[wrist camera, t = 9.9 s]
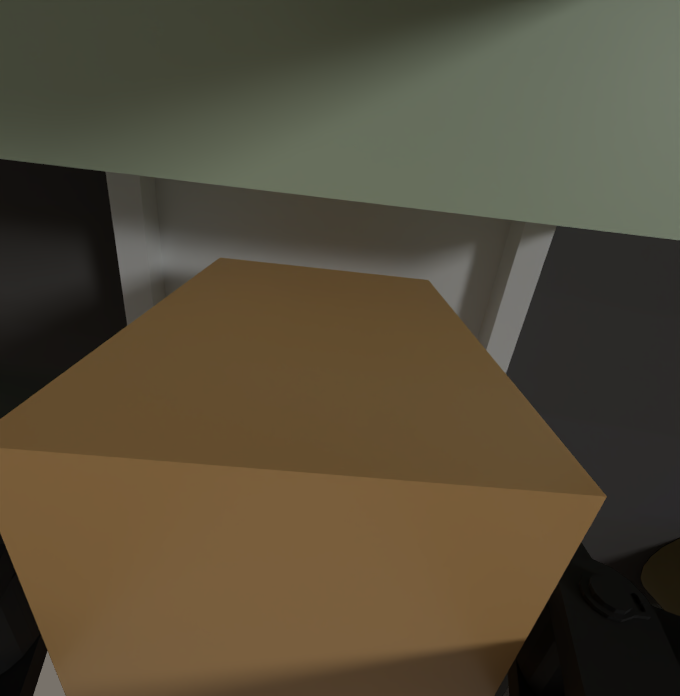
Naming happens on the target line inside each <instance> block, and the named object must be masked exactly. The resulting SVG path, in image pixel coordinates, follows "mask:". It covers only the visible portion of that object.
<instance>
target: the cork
mask: <svg viewBox="0 0 680 696" xmlns="http://www.w3.org/2000/svg"><path fill="white" fill-rule="evenodd" d="M640 578H641V581H642V584H643V587H644V588H645V589H646V590H647V591H648V592H649V593H650V595H651V596H652V597H653V598H654V599H655V600H656V601H657V602H658V603H659V605H660V606H661V607H662V608H663V609H664V610H665V611H667V612H670V613H673V614H675V615H678V616H680V538H679V539H677V540H675V541H673V542H672V543H670V544H668V545H666V546H664V547H662V548H661V549H660V550H659V551H657V552H656V553H655V554H654V555H652V556H651V557H650V558H649V560H648V561H647V562H646V564H645V565H644V567H643V569H642V573H641V577H640Z"/></svg>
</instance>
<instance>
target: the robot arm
mask: <svg viewBox="0 0 680 696" xmlns="http://www.w3.org/2000/svg"><path fill="white" fill-rule="evenodd" d="M46 653H47V648H46V645H45V643H44V640H43V638H42V635H41V633H40V630H39V628H38V625H37V623H36V620H35V618H34V615H33V613H32V610H31V608H30V606H29V603H28V601H27V598H26V596H25V593H24V591H23V588H22V586H21V583H20V581H19V578H18V576H17V573H16V571H15V568H14V566H13V563H12V561H11V558H10V556H9V553H8V551H7V548H6V546H5V543H4V541H3V539H2V536H1V534H0V696H33V694H34V691H35V687H36V685H37V682H38V678H39V675H40V672H41V669H42V666H43V663H44V660H45V657H46ZM508 686H509V696H680V616H678V615H675V614H673V613H670V612H667V611H664V610H662V609H659V608H656V607H654V606H652V605H650V603H649V602H648V600H647V598H646V597H645V596H644V595H643V594H642V593H641V592H640V591H639V590H638V589H637V588H636V587H635V586H634V584H633V583H632V582H631V581H630V580H628V579H627V578H625V577H624V576H622V575H621V574H620V573H618V572H617V571H615V570H614V569H613V568H611V567H609V566H607V565H604V564H602V563H600V562H598V561H596V560H593V559H592V558H591V557H590V555H589V553H588V552H587V550H586V549H585V547H584V546H583V544H582V543H580V545H579V547H578V548H577V550H576V552H575V554H574V556H573V557H572V559H571V561H570V563H569V564H568V566H567V568H566V570H565V571H564V573H563V575H562V577H561V578H560V580H559V582H558V584H557V586H556V587H555V589H554V591H553V593H552V594H551V596H550V598H549V600H548V601H547V603H546V605H545V607H544V609H543V610H542V612H541V614H540V616H539V617H538V619H537V621H536V623H535V624H534V626H533V628H532V630H531V631H530V633H529V635H528V637H527V639H526V640H525V642H524V644H523V646H522V647H521V649H520V651H519V653H518V654H517V656H516V658H515V660H514V662H513V663H512V665H511V667H510V669H509V670H508V672H507V674H506V676H505V677H504V679H503V681H502V683H501V685H500V686H499V688H498V690H497V692H496V693H495V696H503V694H504V693H505V691H506V689H507V688H508Z"/></svg>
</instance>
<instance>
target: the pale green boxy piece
mask: <svg viewBox="0 0 680 696" xmlns="http://www.w3.org/2000/svg"><path fill="white" fill-rule="evenodd" d="M0 159H6V160H14V161H22V162H31V163H39V164H47V165H56V166H64V167H72V168H81V169H89V170H98V171H105V172H106V179H107V186H108V193H109V200H110V207H111V214H112V221H113V228H114V235H115V242H116V249H117V256H118V264H119V271H120V278H121V285H122V292H123V299H124V306H125V313H126V320H127V326H128V325H129V324H130V323H132V322H133V321H134V320H136V319H137V318H138V317H140V316H141V315H143V314H144V313H145V312H147V311H148V310H149V309H151V308H152V307H153V306H155V305H156V304H157V303H159V302H160V301H162V300H163V299H164V298H166V297H167V296H168V295H170V294H171V293H172V292H174V291H175V290H176V289H178V288H179V287H181V286H182V285H183V284H185V283H186V282H187V281H189V280H190V279H191V278H193V277H194V276H195V275H197V274H198V273H200V272H201V271H202V270H204V269H205V268H206V267H208V266H209V265H210V264H212V263H213V262H215V261H216V260H217V259H219V258H230V259H239V260H248V261H257V262H267V263H276V264H285V265H294V266H304V267H313V268H322V269H331V270H341V271H350V272H359V273H368V274H378V275H387V276H396V277H405V278H415V279H424V280H429V281H430V282H431V284H432V285H433V286H434V287H435V289H436V290H437V291H438V292H439V293H440V295H441V296H442V297H443V298H444V299H445V301H446V302H447V303H448V304H449V306H450V307H451V308H452V309H453V310H454V312H455V313H456V314H457V315H458V316H459V318H460V319H461V320H462V321H463V323H464V324H465V325H466V326H467V327H468V329H469V330H470V331H471V332H472V334H473V335H474V336H475V337H476V338H477V340H478V341H479V342H480V343H481V344H482V346H483V347H484V348H485V349H486V351H487V352H488V353H489V354H490V355H491V357H492V358H493V359H494V360H495V361H496V363H497V364H498V365H499V366H500V368H501V369H502V370H503V371H504V372H505V374H506V371H507V368H508V366H509V363H510V360H511V357H512V354H513V351H514V348H515V345H516V342H517V339H518V336H519V333H520V331H521V328H522V325H523V322H524V319H525V316H526V313H527V310H528V307H529V304H530V301H531V299H532V296H533V293H534V290H535V287H536V284H537V281H538V278H539V275H540V272H541V269H542V267H543V264H544V261H545V258H546V255H547V252H548V249H549V246H550V243H551V240H552V237H553V234H554V232H555V229H556V226H565V227H574V228H582V229H590V230H599V231H607V232H615V233H624V234H632V235H640V236H649V237H657V238H665V239H674V240H680V0H0Z"/></svg>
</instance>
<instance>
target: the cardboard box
mask: <svg viewBox="0 0 680 696" xmlns="http://www.w3.org/2000/svg"><path fill="white" fill-rule="evenodd" d="M606 497H607V496H606V495H605V494H604V493H603V491H602V490H601V489H600V488H599V487H598V485H597V484H596V483H595V482H594V481H593V479H592V478H591V477H590V476H589V474H588V473H587V472H586V471H585V470H584V468H583V467H582V466H581V465H580V464H579V462H578V461H577V460H576V459H575V457H574V456H573V455H572V454H571V453H570V451H569V450H568V449H567V448H566V447H565V445H564V444H563V443H562V442H561V440H560V439H559V438H558V437H557V436H556V434H555V433H554V432H553V431H552V430H551V428H550V427H549V426H548V425H547V423H546V422H545V421H544V420H543V419H542V417H541V416H540V415H539V414H538V412H537V411H536V410H535V409H534V408H533V406H532V405H531V404H530V403H529V402H528V400H527V399H526V398H525V397H524V395H523V394H522V393H521V392H520V391H519V389H518V388H517V387H516V386H515V385H514V383H513V382H512V381H511V380H510V378H509V377H508V376H507V375H506V374H505V372H504V371H503V370H502V369H501V368H500V366H499V365H498V364H497V363H496V361H495V360H494V359H493V358H492V357H491V355H490V354H489V353H488V352H487V351H486V349H485V348H484V347H483V346H482V344H481V343H480V342H479V341H478V340H477V338H476V337H475V336H474V335H473V334H472V332H471V331H470V330H469V329H468V327H467V326H466V325H465V324H464V323H463V321H462V320H461V319H460V318H459V316H458V315H457V314H456V313H455V312H454V310H453V309H452V308H451V307H450V306H449V304H448V303H447V302H446V301H445V299H444V298H443V297H442V296H441V295H440V293H439V292H438V291H437V290H436V289H435V287H434V286H433V285H432V284H431V282H430V281H429V280H424V279H415V278H405V277H396V276H387V275H378V274H368V273H359V272H350V271H341V270H331V269H322V268H313V267H304V266H294V265H285V264H276V263H267V262H257V261H248V260H239V259H230V258H219V259H217V260H216V261H215V262H213V263H212V264H210V265H209V266H208V267H206V268H205V269H204V270H202V271H201V272H200V273H198V274H197V275H195V276H194V277H193V278H191V279H190V280H189V281H187V282H186V283H185V284H183V285H182V286H181V287H179V288H178V289H176V290H175V291H174V292H172V293H171V294H170V295H168V296H167V297H166V298H164V299H163V300H162V301H160V302H159V303H157V304H156V305H155V306H153V307H152V308H151V309H149V310H148V311H147V312H145V313H144V314H143V315H141V316H140V317H138V318H137V319H136V320H134V321H133V322H132V323H130V324H129V325H128V326H126V327H125V328H123V329H122V330H121V331H119V332H118V333H117V334H115V335H114V336H113V337H111V338H110V339H109V340H107V341H106V342H104V343H103V344H102V345H100V346H99V347H98V348H96V349H95V350H94V351H92V352H91V353H90V354H88V355H87V356H85V357H84V358H83V359H81V360H80V361H79V362H77V363H76V364H75V365H73V366H72V367H71V368H69V369H68V370H66V371H65V372H64V373H62V374H61V375H60V376H58V377H57V378H56V379H54V380H53V381H51V382H50V383H49V384H47V385H46V386H45V387H43V388H42V389H41V390H39V391H38V392H37V393H35V394H34V395H32V396H31V397H30V398H28V399H27V400H26V401H24V402H23V403H22V404H20V405H19V406H18V407H16V408H15V409H13V410H12V411H11V412H9V413H8V414H7V415H5V416H4V417H3V418H1V419H0V534H1V536H2V539H3V541H4V543H5V546H6V548H7V551H8V553H9V556H10V558H11V561H12V563H13V566H14V568H15V571H16V573H17V576H18V578H19V581H20V583H21V586H22V588H23V591H24V593H25V596H26V598H27V601H28V603H29V606H30V608H31V610H32V613H33V615H34V618H35V620H36V623H37V625H38V628H39V630H40V633H41V635H42V638H43V640H44V643H45V645H46V648H47V650H48V652H49V655H50V658H51V660H52V663H53V665H54V668H55V670H56V672H57V675H58V677H59V680H60V682H61V685H62V687H63V690H64V692H65V695H66V696H494V695H495V693H496V692H497V690H498V688H499V686H500V685H501V683H502V681H503V679H504V677H505V676H506V674H507V672H508V670H509V669H510V667H511V665H512V663H513V662H514V660H515V658H516V656H517V654H518V653H519V651H520V649H521V647H522V646H523V644H524V642H525V640H526V639H527V637H528V635H529V633H530V631H531V630H532V628H533V626H534V624H535V623H536V621H537V619H538V617H539V616H540V614H541V612H542V610H543V609H544V607H545V605H546V603H547V601H548V600H549V598H550V596H551V594H552V593H553V591H554V589H555V587H556V586H557V584H558V582H559V580H560V578H561V577H562V575H563V573H564V571H565V570H566V568H567V566H568V564H569V563H570V561H571V559H572V557H573V556H574V554H575V552H576V550H577V548H578V547H579V545H580V543H581V541H582V540H583V538H584V536H585V534H586V533H587V531H588V529H589V527H590V525H591V524H592V522H593V520H594V518H595V517H596V515H597V513H598V511H599V510H600V508H601V506H602V504H603V503H604V501H605V499H606Z"/></svg>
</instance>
